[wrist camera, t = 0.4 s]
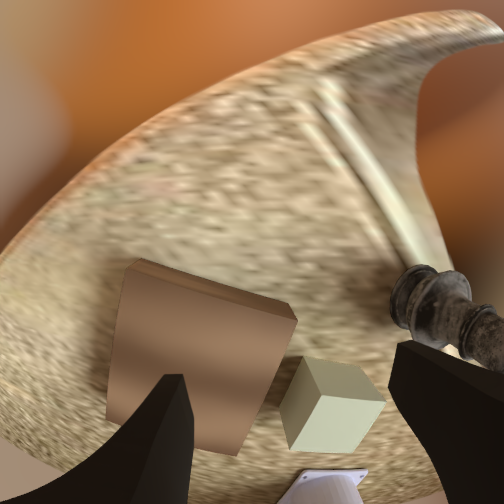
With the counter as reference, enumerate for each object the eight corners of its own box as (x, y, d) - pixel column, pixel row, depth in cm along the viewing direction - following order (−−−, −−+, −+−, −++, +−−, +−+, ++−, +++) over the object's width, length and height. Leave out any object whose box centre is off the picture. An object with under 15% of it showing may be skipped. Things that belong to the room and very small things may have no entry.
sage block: (333, 413, 21) (352, 453, 16) (278, 406, 21) (289, 450, 16) (359, 366, 21) (386, 401, 16) (302, 355, 20) (321, 395, 15)
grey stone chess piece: (449, 306, 20) (552, 363, 9) (398, 345, 21) (491, 433, 9) (433, 246, 19) (559, 284, 8) (376, 287, 19) (496, 365, 8)
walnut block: (235, 431, 21) (236, 456, 18) (117, 397, 20) (105, 419, 17) (288, 303, 19) (297, 320, 16) (141, 258, 18) (126, 268, 15)
